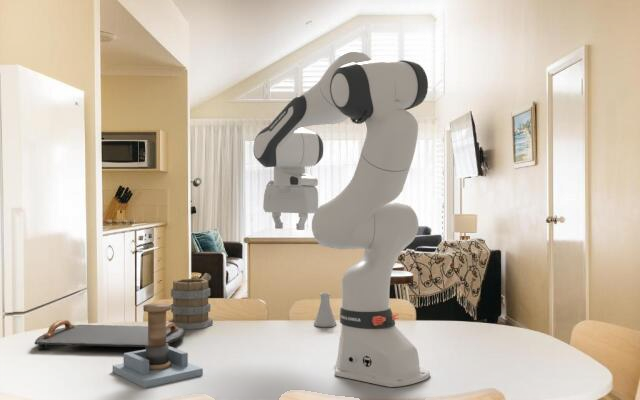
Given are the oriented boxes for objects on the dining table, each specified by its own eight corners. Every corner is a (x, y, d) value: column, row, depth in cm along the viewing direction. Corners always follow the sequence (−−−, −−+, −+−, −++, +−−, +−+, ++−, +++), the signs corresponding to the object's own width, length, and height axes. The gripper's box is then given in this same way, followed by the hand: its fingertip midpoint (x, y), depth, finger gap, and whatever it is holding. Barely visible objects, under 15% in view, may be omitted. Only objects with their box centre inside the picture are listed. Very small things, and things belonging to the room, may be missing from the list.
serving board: (194, 337, 178) (194, 315, 178) (166, 357, 155) (166, 333, 155) (67, 333, 182) (67, 313, 182) (21, 353, 159) (21, 329, 159)
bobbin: (175, 367, 139) (175, 305, 139) (151, 372, 135) (151, 308, 135) (162, 361, 144) (162, 302, 144) (138, 366, 140) (138, 305, 140)
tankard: (198, 330, 184) (198, 280, 184) (161, 328, 188) (161, 279, 188) (228, 318, 203) (228, 273, 203) (194, 316, 207) (194, 271, 207)
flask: (337, 323, 195) (337, 291, 195) (335, 328, 188) (335, 295, 188) (314, 322, 196) (314, 291, 196) (312, 327, 189) (312, 295, 189)
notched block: (202, 375, 138) (202, 355, 138) (144, 388, 129) (144, 366, 129) (167, 361, 150) (167, 342, 150) (112, 371, 141) (112, 352, 141)
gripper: (258, 180, 177) (258, 228, 177) (304, 178, 162) (304, 231, 162) (275, 180, 182) (275, 227, 182) (322, 179, 167) (322, 230, 167)
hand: (289, 229), depth 172 cm, fingers open, 8 cm apart
